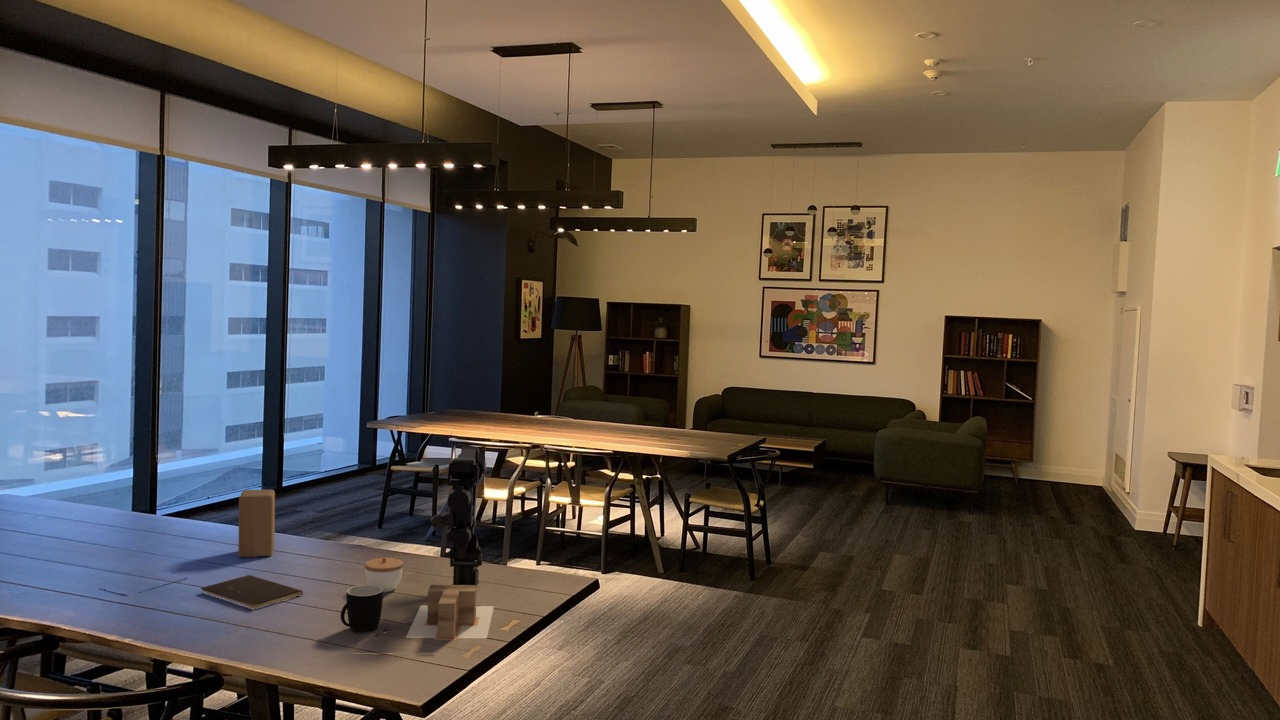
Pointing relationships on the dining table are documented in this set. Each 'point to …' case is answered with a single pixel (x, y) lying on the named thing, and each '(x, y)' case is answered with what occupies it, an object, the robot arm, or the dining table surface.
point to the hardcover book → (252, 591)
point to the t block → (451, 608)
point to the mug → (363, 608)
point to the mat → (463, 631)
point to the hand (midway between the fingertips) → (460, 558)
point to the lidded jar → (384, 572)
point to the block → (256, 523)
